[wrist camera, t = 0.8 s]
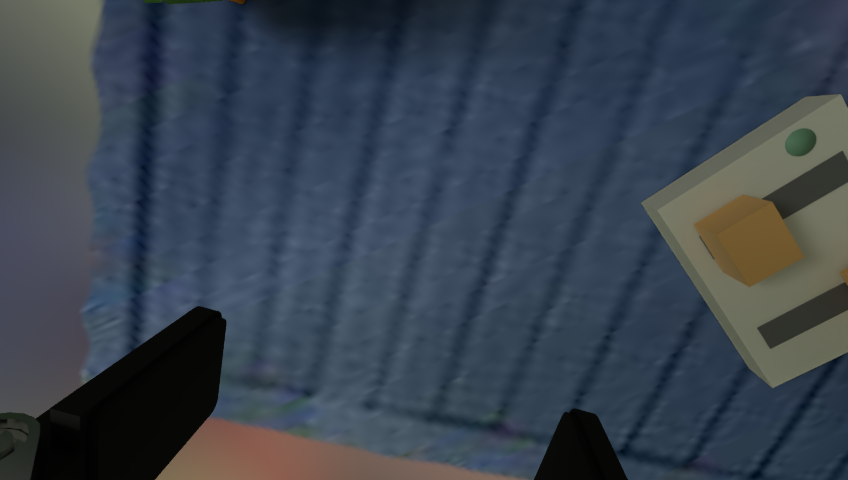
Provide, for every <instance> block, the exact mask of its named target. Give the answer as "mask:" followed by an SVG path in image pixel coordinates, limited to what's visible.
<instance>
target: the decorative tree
mask: <svg viewBox="0 0 848 480" xmlns="http://www.w3.org/2000/svg"><path fill="white" fill-rule="evenodd" d="M144 1H145V3H157V2H163V1H165V2H166V3H167V4H180V3H196V2H211V1H222V0H144ZM229 1H233V2H237V3H240V4H244V2H245V0H229Z"/></svg>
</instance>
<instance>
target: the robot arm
mask: <svg viewBox="0 0 848 480" xmlns="http://www.w3.org/2000/svg"><path fill="white" fill-rule="evenodd" d="M225 332H226V320H225V319H223V318H222V315H221V313H220V312H219V311H215V310H212V309H208V308H204V307H201V306H197V307H195V308H194V309H192V310H191V311H189V312H188V313H186V314H185V315H184V316H182V317H181V318H179V319H178V320H176V321H175V322H173V323H172V324H171V325H169V326H168V327H166V328H165V329H163V330H162V331H161V332H159V333H158V334H156V335H155V336H153V337H152V338H150V339H149V340H148V341H146V342H145V343H143V344H142V345H140V346H139V347H137V348H136V349H135V350H133V351H132V352H130V353H129V354H127V355H126V356H125V357H123V358H122V359H120V360H119V361H117V362H116V363H114V364H113V365H112V366H110V367H109V368H107V369H106V370H104V371H103V372H102V373H100V374H99V375H97V376H96V377H94V378H93V379H91V380H90V381H89V382H87V383H86V384H84V385H83V386H81V387H80V388H78V389H77V390H76V391H74V392H73V393H71V394H70V395H68V396H67V397H66V398H64V399H63V400H61V401H60V402H58V403H57V404H55V405H54V406H53V407H51V408H50V409H49V410H47V411H46V412H44V413H43V414H42V415H40V416H39V417H37V418H36V419H35V418H34V417H32V416H29V415H26V414H22V413H11V412H10V413H1V414H0V480H155V479H156V478H157V477H158V475H159V474H160V473H161V472H162V470H164V468H165V467H166V466H167V465H168V464H169V462H170V461H171V460H172V459H173V458H174V457H175V455H176V454H177V453H178V452H179V451H180V450H181V449H182V447H183V446H184V445H185V444H186V443H187V441H188V440H189V439H190V438H191V437H192V436H193V434H194V433H195V432H196V431H197V430H198V429H199V427H200V426H201V425H202V424H203V423H204V422H205V420H206V419H207V418H208V417H209V416H210V415H211V413H212V412H213V410H214V408H215V406H216V404H217V400H218V393H219V384H220V375H221V366H222V358H223V349H224V340H225ZM534 480H628V479H627V477H626V475H625V473H624V471H623V469H622V467H621V464H620V462H619V460H618V458H617V456H616V454H615V452H614V450H613V448H612V445H611V443H610V441H609V439H608V437H607V435H606V433H605V431H604V429H603V427H602V424H601V422H600V420H599V418H598V417H597V415H595V414H593V413H590V412H586V411H582V410H579V409H572V410H571V411H570V412H569V413H568V412H565V413H564V414H563V415H562V417H561V419H560V422H559V424H558V426H557V429H556V431H555V433H554V435H553V438H552V440H551V442H550V444H549V447H548V449H547V451H546V454H545V456H544V458H543V460H542V463H541V465H540V467H539V469H538V472H537V474H536V476H535V479H534Z"/></svg>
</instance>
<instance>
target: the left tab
mask: <svg viewBox="0 0 848 480" xmlns="http://www.w3.org/2000/svg"><path fill="white" fill-rule="evenodd" d="M693 225H694V227H695V229H696V230H697V232H698V233H699V235H700V236H701V238H702V240H703V241H704V243H705V244H706V246H707V248H708V249H709V251H710V252H711V254H712V255H713V257H714V259H715V260H716V262H717V263H718V265H719V267H720V268H721V270H722V271H723V273H725V274H727V275H728V276H730V277H732V278H734V279H735V280H737V281H739V282H741V283H743V284H744V285H746V286H748V287H751V286H753V285H755V284H756V283H758V282H760V281H762V280H764V279H766V278H767V277H769V276H771V275H773V274H775V273H776V272H778V271H780V270H782V269H784V268H786V267H787V266H789V265H791V264H793V263H795V262H796V261H798V260H800V259H802V258H804V255H803V254H802V252H801V250H800V248H799V247H798V245H797V243H796V242H795V240H794V238H793V236H792V235H791V233H790V231H789V229H788V228H787V226H786V224H785V223H784V221H783V219H782V217H781V216H780V214H779V212H778V211H777V209H776V207H775V205H774V204H773V202H771V201H767V200H763V199H759V198H755V197H751V196H747V195H741V196H739V197H738V198H736V199H734V200H733V201H731V202H729V203H728V204H726V205H724V206H723V207H721V208H720V209H718V210H716V211H715V212H713V213H711V214H710V215H708V216H706V217H705V218H703V219H701V220H700V221H698V222H696V223H695V224H693Z"/></svg>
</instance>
